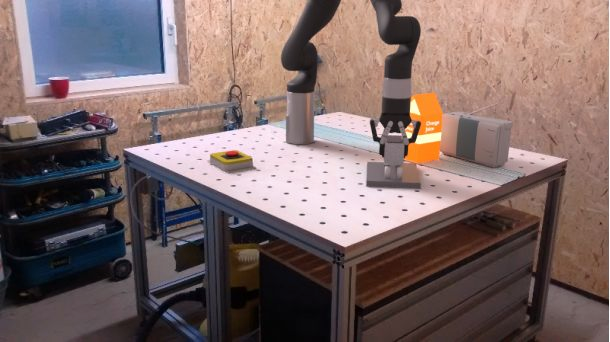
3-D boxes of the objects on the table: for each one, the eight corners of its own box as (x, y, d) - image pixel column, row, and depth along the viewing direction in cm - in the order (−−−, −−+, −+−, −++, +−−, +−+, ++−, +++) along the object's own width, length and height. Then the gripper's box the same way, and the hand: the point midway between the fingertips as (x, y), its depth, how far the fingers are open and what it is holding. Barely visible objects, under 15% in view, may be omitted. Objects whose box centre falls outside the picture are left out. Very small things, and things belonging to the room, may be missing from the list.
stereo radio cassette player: (436, 154, 175) (441, 91, 170) (453, 150, 180) (458, 88, 174) (494, 170, 160) (501, 101, 154) (510, 165, 164) (518, 98, 158)
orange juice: (439, 159, 170) (444, 94, 164) (417, 163, 165) (422, 96, 159) (421, 153, 176) (426, 90, 170) (400, 157, 172) (404, 92, 166)
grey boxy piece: (384, 164, 147) (385, 142, 145) (383, 155, 156) (384, 134, 154) (403, 165, 147) (404, 143, 145) (401, 156, 155) (402, 135, 153)
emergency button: (226, 159, 154) (205, 148, 166) (227, 175, 155) (206, 162, 167) (256, 155, 159) (233, 144, 171) (256, 169, 160) (234, 158, 172)
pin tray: (366, 186, 145) (366, 169, 144) (367, 166, 162) (367, 151, 161) (420, 188, 143) (421, 171, 142) (415, 168, 160) (416, 153, 159)
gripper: (369, 96, 143) (366, 160, 148) (425, 97, 142) (421, 161, 147) (369, 92, 150) (367, 152, 155) (423, 93, 149) (419, 154, 154)
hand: (393, 156), depth 151 cm, fingers closed on grey boxy piece, 5 cm apart
